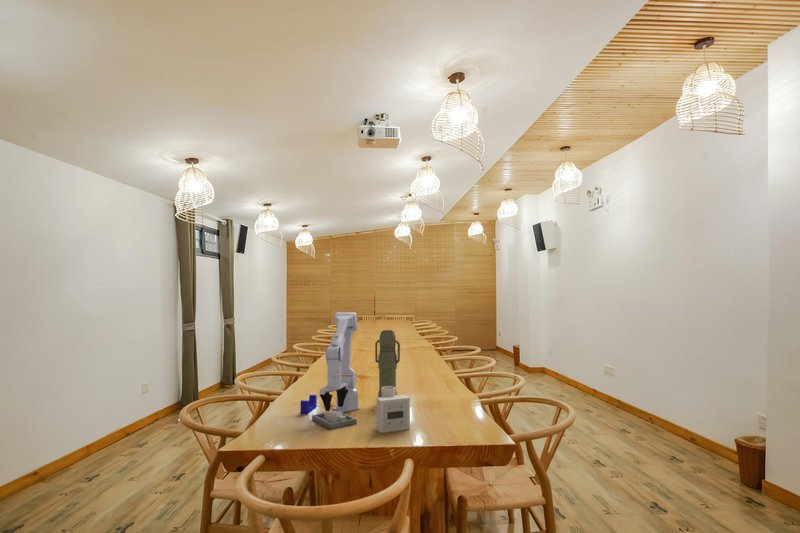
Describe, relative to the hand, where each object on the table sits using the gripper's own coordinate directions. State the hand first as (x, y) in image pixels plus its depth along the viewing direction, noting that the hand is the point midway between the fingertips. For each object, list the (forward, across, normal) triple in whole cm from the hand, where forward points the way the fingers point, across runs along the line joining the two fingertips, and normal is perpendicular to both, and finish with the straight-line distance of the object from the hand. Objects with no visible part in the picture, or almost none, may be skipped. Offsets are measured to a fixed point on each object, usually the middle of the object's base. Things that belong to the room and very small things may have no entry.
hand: (334, 408), depth 183 cm
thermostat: (+6, -9, +22) cm, 24 cm away
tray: (+5, 0, 0) cm, 5 cm away
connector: (+5, 0, 0) cm, 5 cm away
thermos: (+6, -34, +2) cm, 34 cm away
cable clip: (+6, -5, -22) cm, 23 cm away
